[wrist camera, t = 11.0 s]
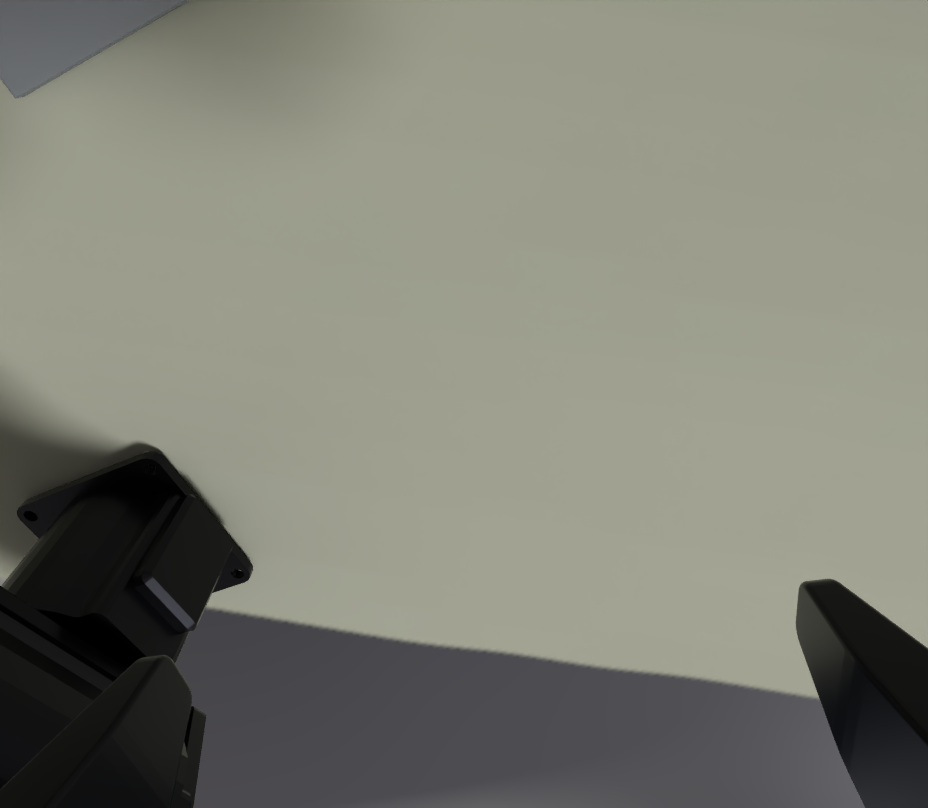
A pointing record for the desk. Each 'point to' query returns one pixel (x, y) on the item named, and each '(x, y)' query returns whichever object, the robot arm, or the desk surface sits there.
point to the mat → (64, 35)
